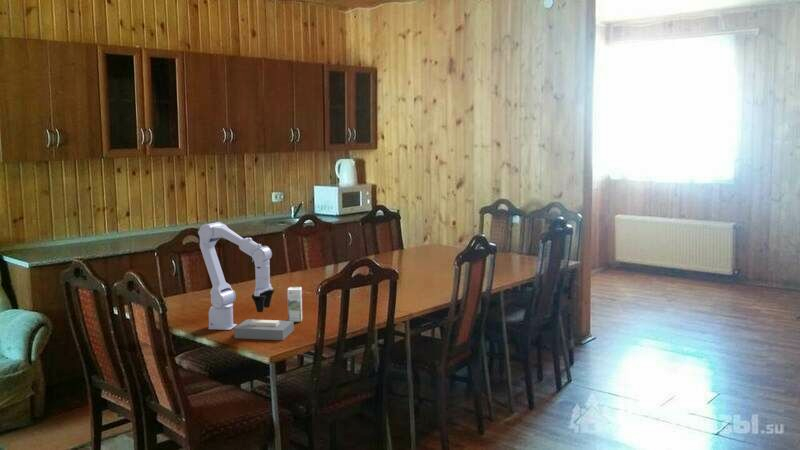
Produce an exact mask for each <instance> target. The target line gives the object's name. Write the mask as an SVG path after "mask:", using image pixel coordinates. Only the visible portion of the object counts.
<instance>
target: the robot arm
mask: <svg viewBox="0 0 800 450" xmlns="http://www.w3.org/2000/svg"><path fill="white" fill-rule="evenodd" d="M197 234H198V236H199V248H200V250H201V254H202V258H203V261H204V264H205V266H206V269H207V273H208V275H209V278H210V279H209V280H210V282H211V285H212V287H211V289H210V291H209V293H210V303H211V305H212V306H210V308H209V310H208V330H219V331H221V330H224V331H229V330H230V331H231V330H232V329H234V328H235V327H237V326H238V324H237V323H234V308H233V307H234V302H235V301H236V299H237V298H236V297H237V296H236V295H237V294H236V292H235V290H234V289H233V288H232V286H231V284H230V283H228V282H226V279H225V276H224V272H223V270H222V267H221V263H220V260H219V257H218V255H217V251H216V248H215V246H216V244H217V242H218V241H219V240H220V239H221V238H222V239H225V240H227V241H229V242H230V243H233V244H235V245H237V246H238V248H239V250H240V251H241V252H244V253H245V254H246V255H248V256H250V257H251V258H252V260H253V262H254V270H255V271H254V272H255V275H254V276H255V287H254V292H253V294H252V295H251V299H252V300H253V301H254V302H253V303H254V304H255V308H256V312H257V313H263V312H264V308H266V309H267V308H268V309H269V308H270V306H271V301H272V297H273V294H274V292H275V289H274V287H272V283H271V275H270V274H271V267H270V262H271V261H270V259H271V258H272V256H273V252H272V251H273V250H272V249H271V248H270V247H269V246H268V245H262V244H261V243H257V242H255V241H254V240H253V238H252V237H245V238H244V237H242V236H240V235H239V234H238V233H236V232H235V231H234V230H232V229H230V228H229V227H228V226H227V225H226V224H225V223H222V222H221V221H214V222H211V223H204V224H203V225H201V226H200V228H199V230H198V231H197Z"/></svg>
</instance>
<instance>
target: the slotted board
mask: <svg viewBox="0 0 800 450" xmlns="http://www.w3.org/2000/svg"><path fill="white" fill-rule="evenodd" d="M252 320H253V318H250V319H249V318H247V319H245V320H244V321H242V322H241V323H238V324H237V325H236V326H235V327H233V330H234V332H233V335H234V337H233V338H234V339H243V340H244V339H245V340H246V339H247V340H249V339H250V340H266V341H267V340H269V341H272V340H273V341H284V340H285V339H286V338H287V337H288V336H290V334H291V333H292V332H294V330H295V329H294V326H295V324H294V323H295V322H294V321H288V320H279V325H277V326H272V327H260V326H252V325H250V322H251V321H252ZM255 320H257V319H255Z"/></svg>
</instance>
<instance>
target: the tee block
mask: <svg viewBox="0 0 800 450" xmlns="http://www.w3.org/2000/svg"><path fill="white" fill-rule="evenodd" d="M252 319H253V318H252ZM250 325H252V326H260V327H272V326H277V325H279V320H278V319H277V320H275V319H273V320H272V319H256V320H255V319H253V320H252V321H251V322H250Z"/></svg>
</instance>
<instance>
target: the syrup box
mask: <svg viewBox="0 0 800 450" xmlns="http://www.w3.org/2000/svg"><path fill="white" fill-rule="evenodd" d="M286 292H287V321H294V323H302V321H303V288H302V286H289V287H288V288H287V291H286Z"/></svg>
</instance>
